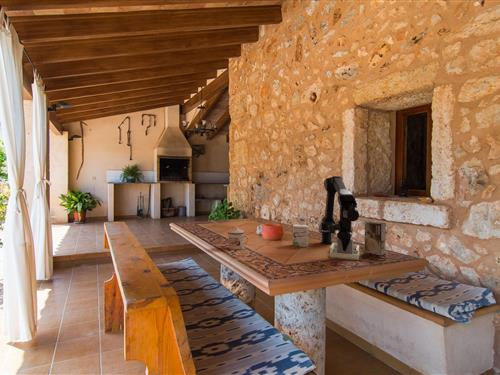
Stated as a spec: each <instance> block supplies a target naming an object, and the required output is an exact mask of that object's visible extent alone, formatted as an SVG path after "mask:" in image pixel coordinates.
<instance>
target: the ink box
mask: <svg viewBox="0 0 500 375" xmlns="http://www.w3.org/2000/svg"><path fill="white" fill-rule="evenodd" d="M308 245H309V225H308V224H296V223H295V224H293V225H292V247H304V248H307V247H309V246H308Z"/></svg>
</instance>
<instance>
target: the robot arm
mask: <svg viewBox="0 0 500 375" xmlns="http://www.w3.org/2000/svg"><path fill="white" fill-rule="evenodd" d="M323 186H324V190H325V191H326V198H325V208H324V209H325V210H324V216H323V217H322V218H321V221H320V223H319V226H318V233H320V234H321V241H320V242H319V243H320V244H326V245H328V244H329V245H332V244H333V243H334V242H333V241H332V236H333V235H332V234H335V233H336V231H337V233H336V238H337V239H338V238H339V239H340V240H341V242H342V247H343V251H346V249H347V246H348V244H349V242H350V239H351V238H352V236H353V234H354V229H353V228H352V223H353V222H357V221H358V219H359V218H360V214H359V211H358V210H357V208H358V207H357V206H358V203H357V200H356V197H355V195H354V193H352V191H350V190H348V189H347V187H346V185H345V183H344V182H343V177H342V176H340V175H333V176H331V177H327V178H325V179H324V180H323ZM336 194H337V204H338V205H339V206H338V207H339V220H338V222H337V223H336V221H335V219H334V218H333V216H334V206H335V198H336Z"/></svg>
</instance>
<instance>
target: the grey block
mask: <svg viewBox="0 0 500 375" xmlns="http://www.w3.org/2000/svg"><path fill="white" fill-rule="evenodd" d="M336 240H337V242H336V243H337V253H345V254H352V253H353V250H354V249H353V244H354V238H352V237H351V239H350V242H349V244H348V246H347V249H346V251H343V247H342V242H341V240H340V239H339V238H337V239H336Z"/></svg>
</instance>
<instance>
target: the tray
mask: <svg viewBox="0 0 500 375" xmlns="http://www.w3.org/2000/svg"><path fill="white" fill-rule="evenodd" d="M360 252H361V251H360V249H359V250H355V249H353V253H352V254H345V253H337V248H332V249H331V251H330V250H329V258H330V259H331V258H332V259H341V260H349V261H350V260H351V261H359V259H360Z"/></svg>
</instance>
